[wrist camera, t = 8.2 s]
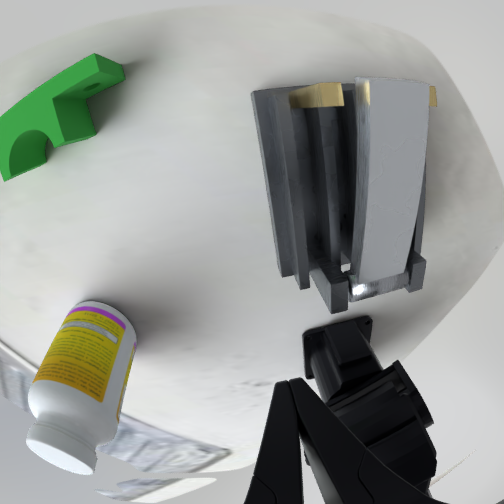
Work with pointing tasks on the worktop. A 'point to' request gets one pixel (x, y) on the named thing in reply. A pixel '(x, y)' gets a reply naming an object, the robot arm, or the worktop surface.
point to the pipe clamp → (53, 114)
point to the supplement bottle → (81, 387)
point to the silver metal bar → (386, 181)
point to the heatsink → (318, 184)
